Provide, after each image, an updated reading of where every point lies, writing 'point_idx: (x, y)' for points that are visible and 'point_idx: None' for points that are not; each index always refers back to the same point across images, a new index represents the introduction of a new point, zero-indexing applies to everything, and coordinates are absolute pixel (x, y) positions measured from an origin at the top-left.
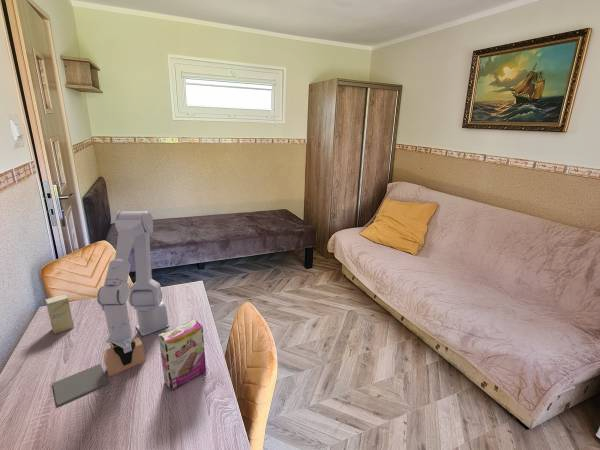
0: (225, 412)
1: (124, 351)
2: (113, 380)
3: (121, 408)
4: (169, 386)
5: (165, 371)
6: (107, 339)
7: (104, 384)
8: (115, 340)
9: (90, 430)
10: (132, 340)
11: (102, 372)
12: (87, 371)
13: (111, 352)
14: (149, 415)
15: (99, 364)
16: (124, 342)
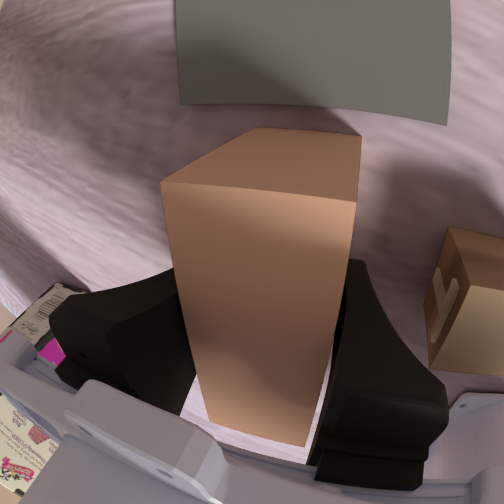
0: (10, 304)
1: (2, 342)
2: (200, 135)
3: (36, 134)
4: (51, 290)
5: (27, 327)
6: (110, 448)
7: (180, 82)
8: (68, 435)
9: (12, 38)
10: (296, 425)
11: (318, 97)
12: (416, 19)
13: (235, 265)
14: (7, 198)
15: (440, 116)
16: (30, 418)
